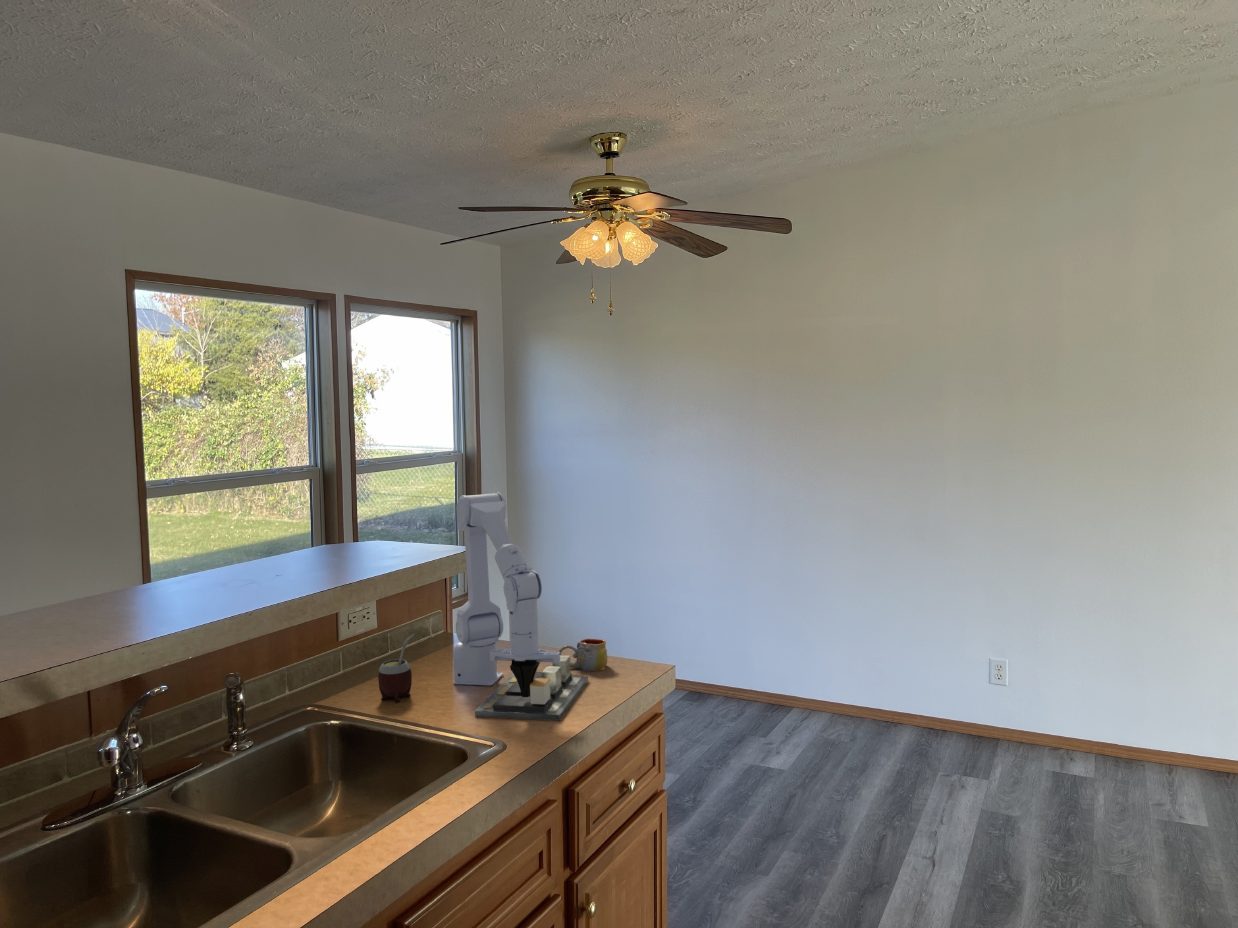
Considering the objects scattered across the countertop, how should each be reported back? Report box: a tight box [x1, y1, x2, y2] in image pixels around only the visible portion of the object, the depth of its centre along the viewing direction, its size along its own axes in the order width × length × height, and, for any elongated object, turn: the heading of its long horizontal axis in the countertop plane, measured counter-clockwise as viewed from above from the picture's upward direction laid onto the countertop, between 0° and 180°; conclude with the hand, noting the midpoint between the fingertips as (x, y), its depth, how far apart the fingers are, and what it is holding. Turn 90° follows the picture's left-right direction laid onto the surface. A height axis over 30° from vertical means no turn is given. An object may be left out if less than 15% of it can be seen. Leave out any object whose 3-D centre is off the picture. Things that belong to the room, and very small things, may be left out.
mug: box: [557, 638, 608, 672], centre depth 200 cm, size 12×7×7 cm, turn 92°
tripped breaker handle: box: [530, 678, 550, 704], centre depth 171 cm, size 3×4×4 cm
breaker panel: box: [474, 654, 589, 722], centre depth 179 cm, size 18×24×6 cm
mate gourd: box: [377, 632, 416, 704], centre depth 181 cm, size 8×8×15 cm
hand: (526, 695), depth 171 cm, fingers closed
